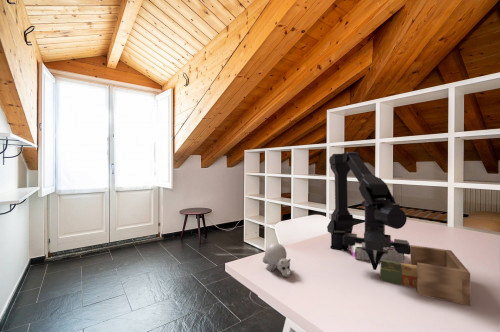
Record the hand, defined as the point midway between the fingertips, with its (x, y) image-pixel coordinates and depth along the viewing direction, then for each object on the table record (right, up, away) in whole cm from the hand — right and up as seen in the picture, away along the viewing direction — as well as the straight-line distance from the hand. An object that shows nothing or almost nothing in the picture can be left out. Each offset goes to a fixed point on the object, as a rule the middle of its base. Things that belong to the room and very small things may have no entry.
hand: (374, 269), depth 75 cm
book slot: (+13, -1, -7) cm, 15 cm away
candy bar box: (+16, +1, +13) cm, 20 cm away
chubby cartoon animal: (-31, -1, +1) cm, 31 cm away
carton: (+8, -2, -5) cm, 10 cm away
